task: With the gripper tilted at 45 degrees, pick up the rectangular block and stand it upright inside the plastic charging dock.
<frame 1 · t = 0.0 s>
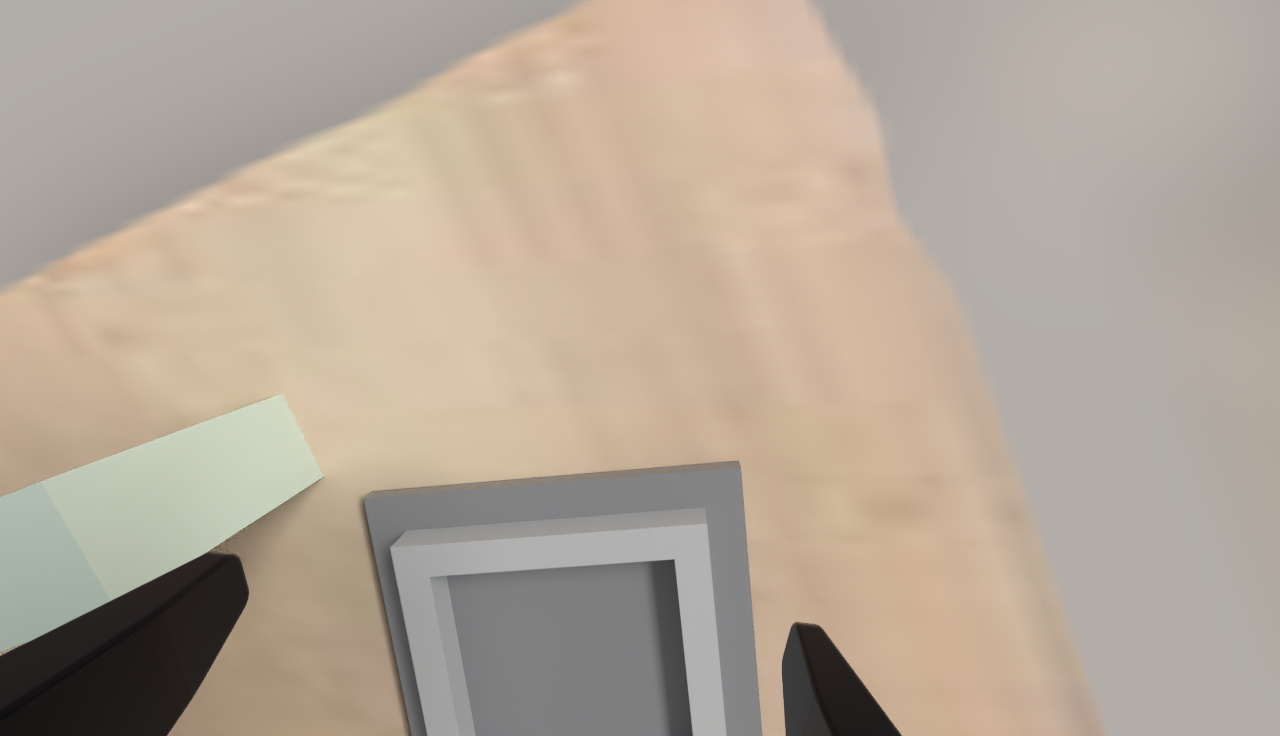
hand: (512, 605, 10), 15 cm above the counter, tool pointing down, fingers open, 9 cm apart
rectangular block: (254, 454, 26), on the counter
charging dock: (575, 642, 27), on the counter
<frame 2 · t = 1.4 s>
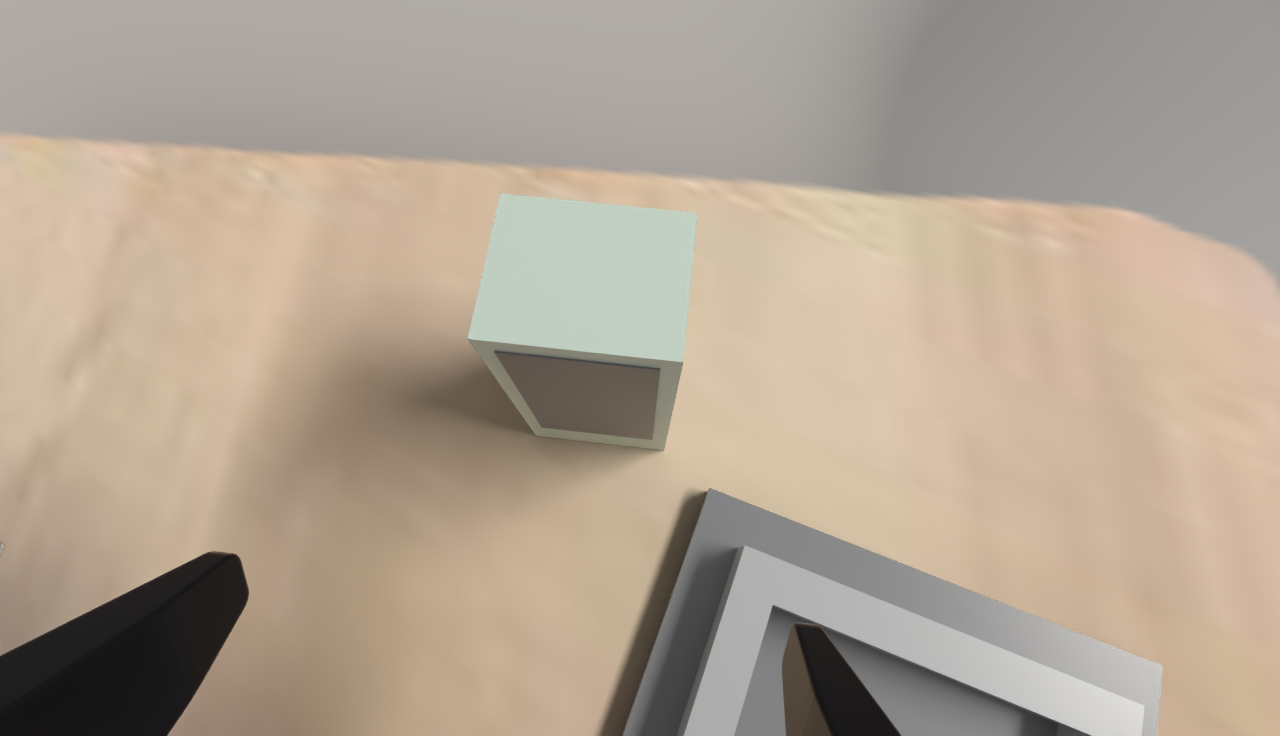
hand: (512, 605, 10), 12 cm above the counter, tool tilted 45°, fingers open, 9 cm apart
rectangular block: (606, 394, 24), on the counter
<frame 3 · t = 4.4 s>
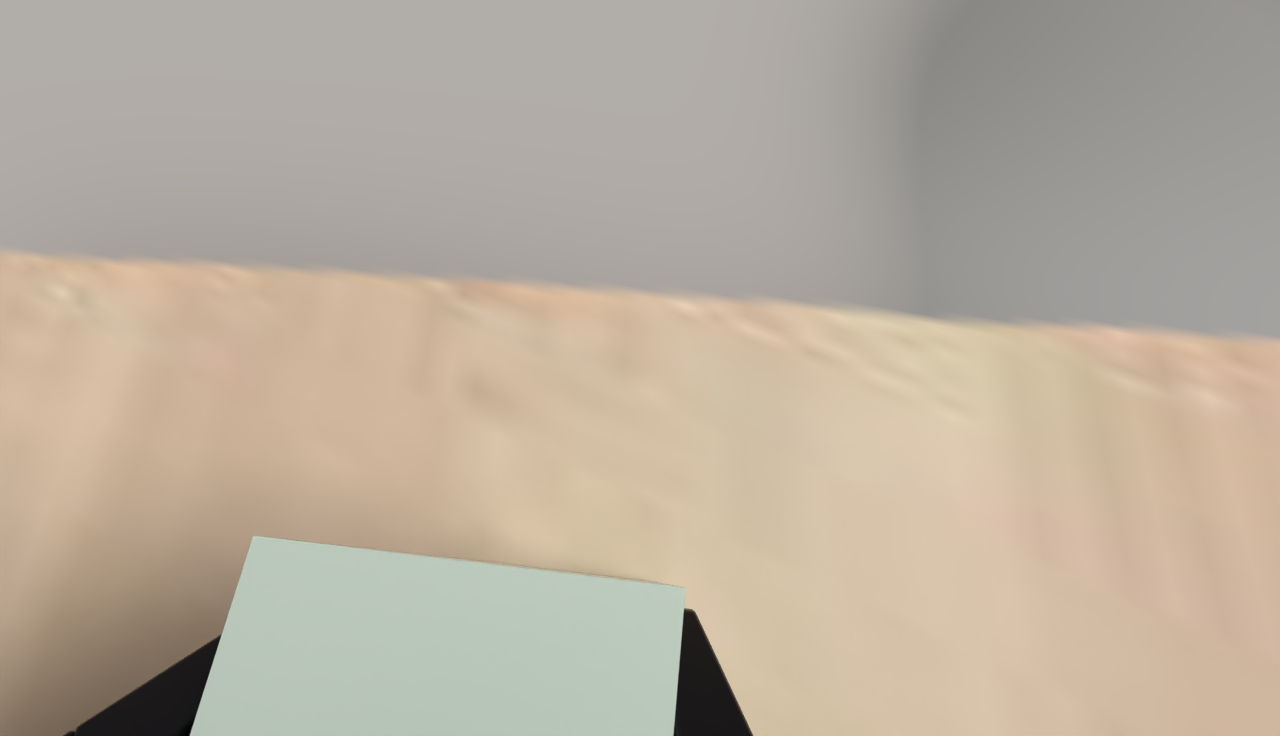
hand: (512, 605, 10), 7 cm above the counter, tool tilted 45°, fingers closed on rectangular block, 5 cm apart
rectangular block: (553, 651, 16), on the counter, touching gripper
when the fingers open (9 cm above the counter, at t = 8.8 s): rectangular block drops 2 cm, resting on charging dock.
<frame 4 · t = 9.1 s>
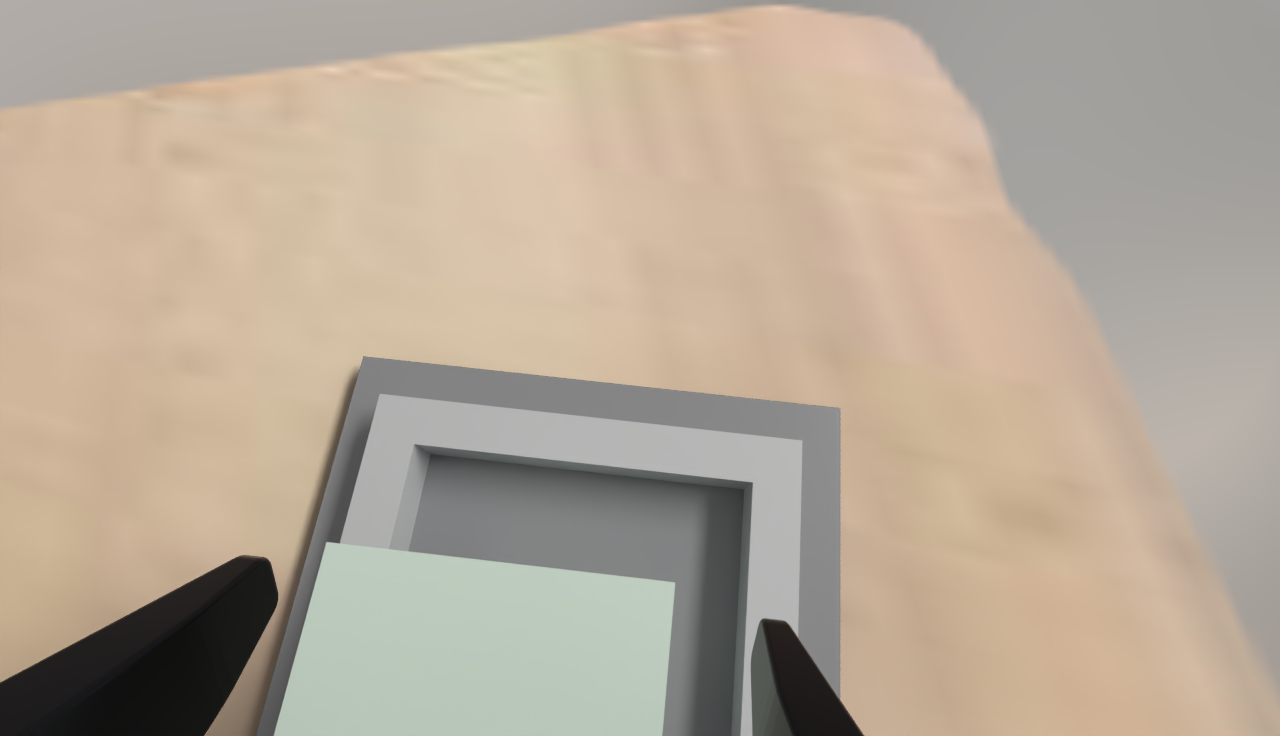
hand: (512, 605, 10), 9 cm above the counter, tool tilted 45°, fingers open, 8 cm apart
rectangular block: (560, 642, 17), point 1 cm above the counter, touching charging dock
charging dock: (564, 641, 18), on the counter
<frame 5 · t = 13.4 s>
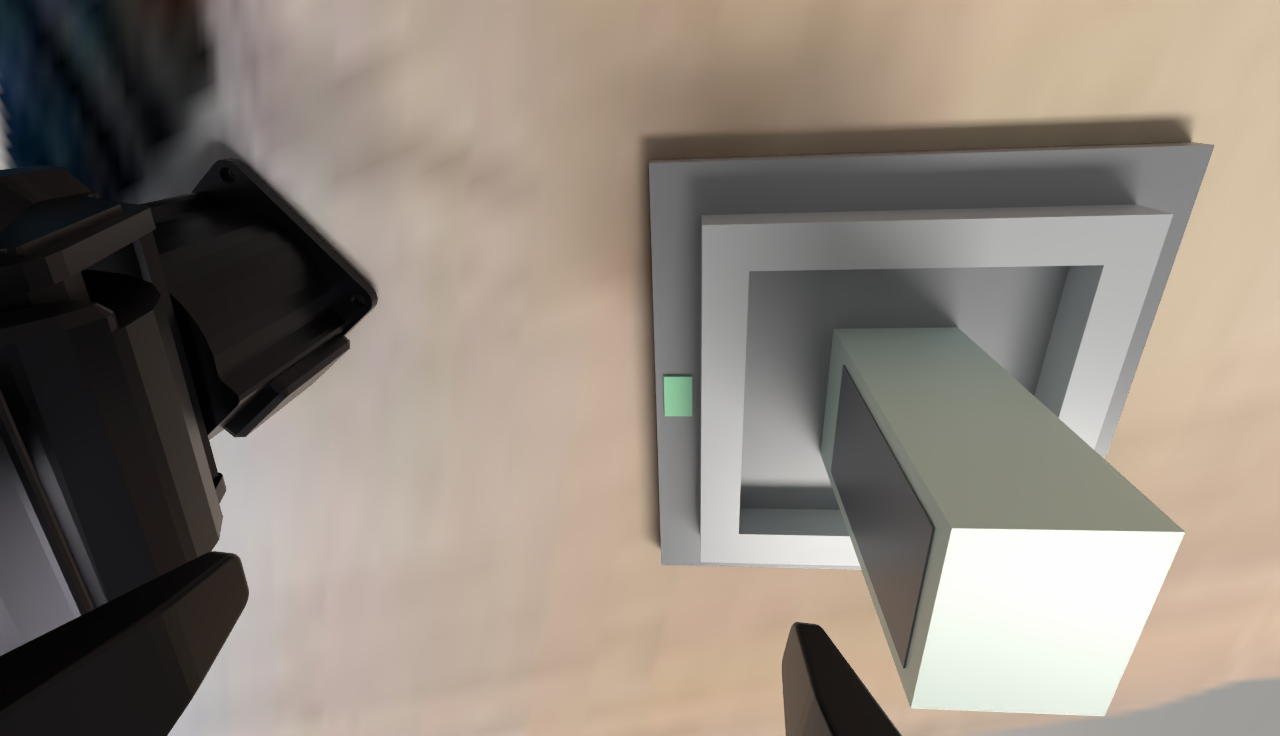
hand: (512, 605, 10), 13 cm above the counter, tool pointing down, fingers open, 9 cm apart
rectangular block: (885, 394, 21), point 1 cm above the counter, touching charging dock
charging dock: (877, 385, 22), on the counter
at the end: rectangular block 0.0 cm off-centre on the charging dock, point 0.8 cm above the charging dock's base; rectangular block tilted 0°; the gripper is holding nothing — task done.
